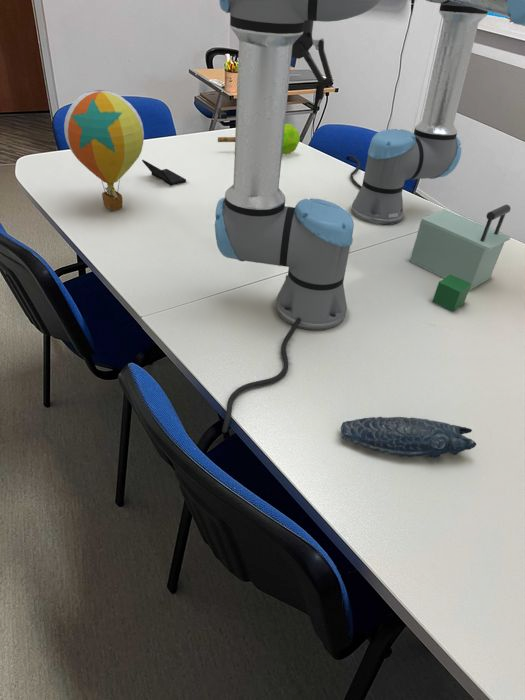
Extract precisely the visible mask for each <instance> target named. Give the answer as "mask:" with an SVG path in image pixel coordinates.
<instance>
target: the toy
mask: <svg viewBox="0 0 525 700" xmlns="http://www.w3.org/2000/svg"><path fill="white" fill-rule="evenodd" d="M63 128H64V130H63V131H64V132H63V133H64V137H65V141H66V144H67V146H68V148H69V150H70V151H71V152H72V154H73V156H75V158H76V159H77V161H78V162H80V163H81V165H83V166H84V167H85V168H86V169H87V170H88V171H90V172H91V173H92V174H93V175H94V176H96V177H97V178H98V179H100V180H101V183H102V184H101V185H102V187H103V191H102V193H101V198H102V203H103V205H104V207H105V208H106V209H108V210H109V211H110V212H113V211H118V210H121V209H122V208H123V203H124V201H123V195H122V194H121V193H120V192H119V191H118V190H119V188H120V183H118V182H120V181H121V178H122V177H123V176H124V175H125V174H126V173H127V172H128V171H129V170H130V169H131V167H133V165H134V164H135V163H136V161H137V160H138V159H139V158H140V155H141V153H142V150H143V147H144V141H145V131H144V130H145V129H144V125H143V121H142V119H141V116H140V114H139V113H138V111H137V109H136V108H134V106H133V105H132V103H130V102H129V101H128V100H127V99H126V98H124V97H123V96H122V95H119V94H117V93H115V92H112V91H109V90H102V89H101V90H100V89H98V90H92V91H87V92H85V93H82V95H79V96H78V97H77V98H76V99H75V100H73V102H72V103H71V105H70V107H69V108H68V111H67V112H66V114H65V118H64V124H63ZM104 183H105V184H106V185H107V186H106V187H105V186H104ZM115 183H118V185H117V190H116V188H115Z"/></svg>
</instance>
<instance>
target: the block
mask: <svg viewBox="0 0 525 700" xmlns="http://www.w3.org/2000/svg"><path fill="white" fill-rule="evenodd" d="M470 286H471V284H470V283H468V282H466V281H464V280H462V279H459V278H457V277H455V276H453V275H449V276H447V277H446V278H442V279H441V280H439V281H438V283H437V286H436V290H435V292H434V294H433V298H432V301H431V302H432V303H434V304H436V305H438V306H440V307H442V308H444V309H446V310H448V311H450V312H455V311H456V310H458V309H459V308H461V306H463V305H464V304H465V302H466V300H467V296H468V294H469V292H470V291H469V289H470Z"/></svg>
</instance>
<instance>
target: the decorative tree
mask: <svg viewBox="0 0 525 700" xmlns="http://www.w3.org/2000/svg"><path fill="white" fill-rule="evenodd" d="M300 137H301V136H300V132H299V131H298V129H297V128H296V127H295V126H294V125H292V123H285V127H284V138H283V148H282V155H289V154H291V153H293V152H295V151H296V150H297V148H298V145H299V143H300V140H301V138H300ZM217 143H235V136H218V137H217Z"/></svg>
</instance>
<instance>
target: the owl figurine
mask: <svg viewBox="0 0 525 700" xmlns="http://www.w3.org/2000/svg"><path fill="white" fill-rule="evenodd" d="M472 431H473V429H471V428H470V427H466V426H460V425H456V424H450V423H448V422H443V421H437V420H431V419H427V418H421V417H420V418H419V417H405V416H392V417H387V416H386V417H385V416H377V417H375V416H373V417H372V416H371V417H363V418H358V419H353V420H347V421H343V422H342V423H341V425H340V432H341V434H340V439H343V440H347V441H349V442H353V443H354V444H355V445H359V446H361V447H363V448H367V449H370V450H371V451H375V452H380V453H383V454H385V453H387V454H389V455H391V456H399V457H407V458H413V457H423V456H427V457H430V458H439V457H440V456H441V455H445V454H451V455H454V456H457V455H459V454H460V453H461V452H464V451H468V450H472V449H474V448H475V447H476V446H477V443H476V441H474V440H473V439H472V438H469V437H467V436H465V435H464V434H470V433H471V432H472Z"/></svg>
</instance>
